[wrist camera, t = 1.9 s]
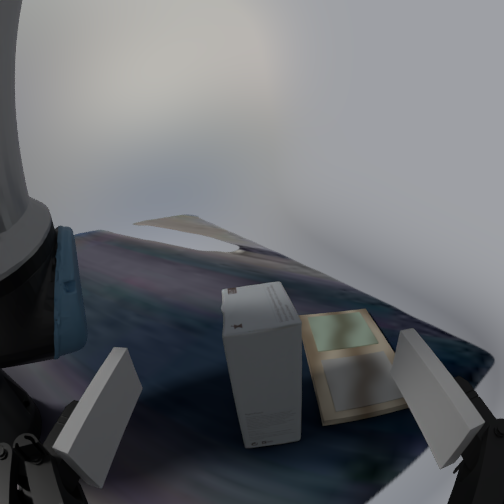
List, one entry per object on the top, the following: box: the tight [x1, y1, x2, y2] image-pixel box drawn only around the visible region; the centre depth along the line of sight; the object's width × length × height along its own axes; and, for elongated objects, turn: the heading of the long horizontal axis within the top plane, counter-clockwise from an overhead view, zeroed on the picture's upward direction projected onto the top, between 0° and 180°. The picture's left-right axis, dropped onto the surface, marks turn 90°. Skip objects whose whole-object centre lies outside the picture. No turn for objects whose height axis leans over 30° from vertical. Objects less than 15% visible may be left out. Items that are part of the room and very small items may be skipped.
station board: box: [299, 309, 409, 426], centre depth 35 cm, size 12×22×1 cm, turn 0°
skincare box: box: [221, 282, 302, 448], centre depth 25 cm, size 8×6×15 cm
